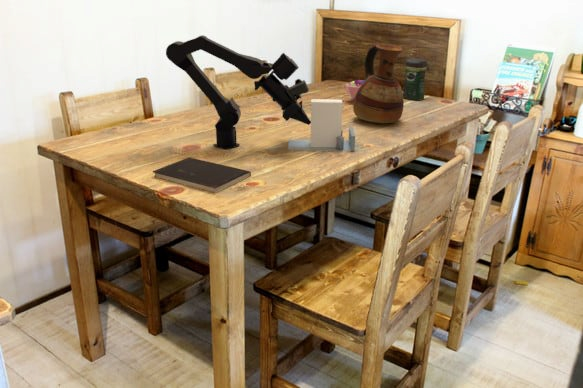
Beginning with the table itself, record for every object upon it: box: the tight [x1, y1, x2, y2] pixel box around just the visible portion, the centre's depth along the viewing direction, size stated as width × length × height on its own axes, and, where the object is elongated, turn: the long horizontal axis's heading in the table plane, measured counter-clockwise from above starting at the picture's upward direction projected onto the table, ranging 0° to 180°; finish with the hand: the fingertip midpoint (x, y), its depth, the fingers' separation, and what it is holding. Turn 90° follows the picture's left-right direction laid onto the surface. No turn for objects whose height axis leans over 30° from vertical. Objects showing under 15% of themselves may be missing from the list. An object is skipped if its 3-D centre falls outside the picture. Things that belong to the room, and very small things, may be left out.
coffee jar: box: [402, 57, 428, 101], centre depth 256 cm, size 10×8×19 cm
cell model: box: [345, 79, 366, 100], centre depth 250 cm, size 17×20×11 cm
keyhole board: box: [287, 126, 356, 152], centre depth 184 cm, size 22×12×6 cm, turn 88°
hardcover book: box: [152, 157, 252, 194], centre depth 158 cm, size 16×23×2 cm
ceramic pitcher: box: [352, 42, 405, 124], centre depth 214 cm, size 20×20×30 cm
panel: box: [309, 98, 343, 147], centre depth 181 cm, size 10×4×15 cm, turn 88°
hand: (310, 123), depth 182 cm, fingers closed, pressing on panel
